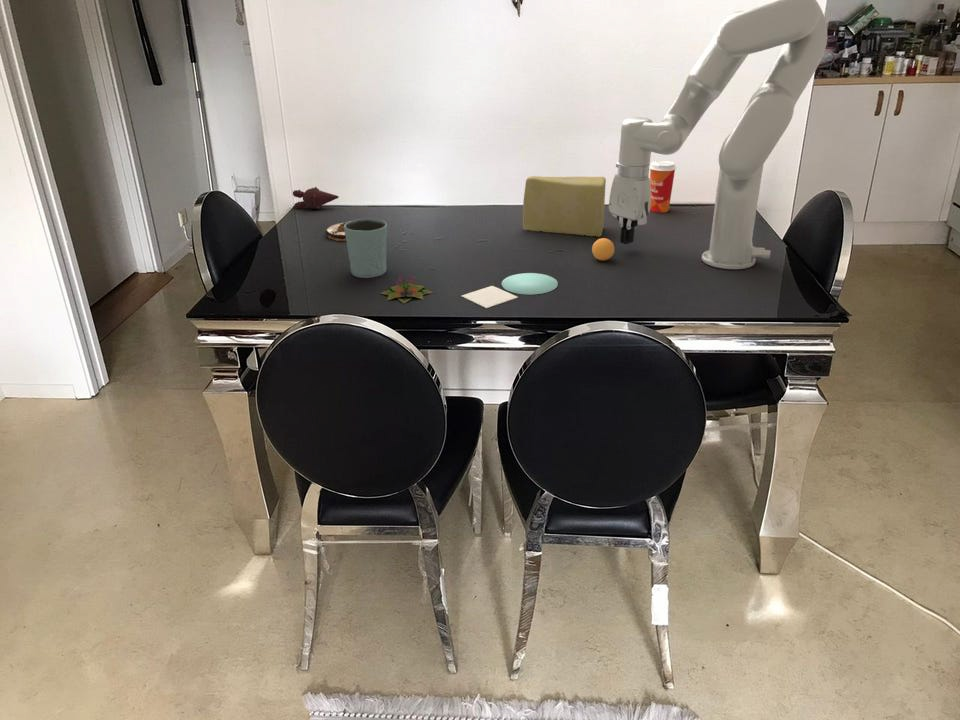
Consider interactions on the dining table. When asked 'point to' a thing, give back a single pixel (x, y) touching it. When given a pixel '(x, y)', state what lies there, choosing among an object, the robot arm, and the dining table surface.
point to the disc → (529, 283)
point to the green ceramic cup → (366, 247)
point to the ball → (603, 249)
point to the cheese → (564, 205)
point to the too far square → (489, 296)
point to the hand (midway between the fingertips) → (626, 242)
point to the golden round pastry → (337, 232)
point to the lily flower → (406, 291)
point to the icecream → (313, 198)
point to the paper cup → (661, 185)
